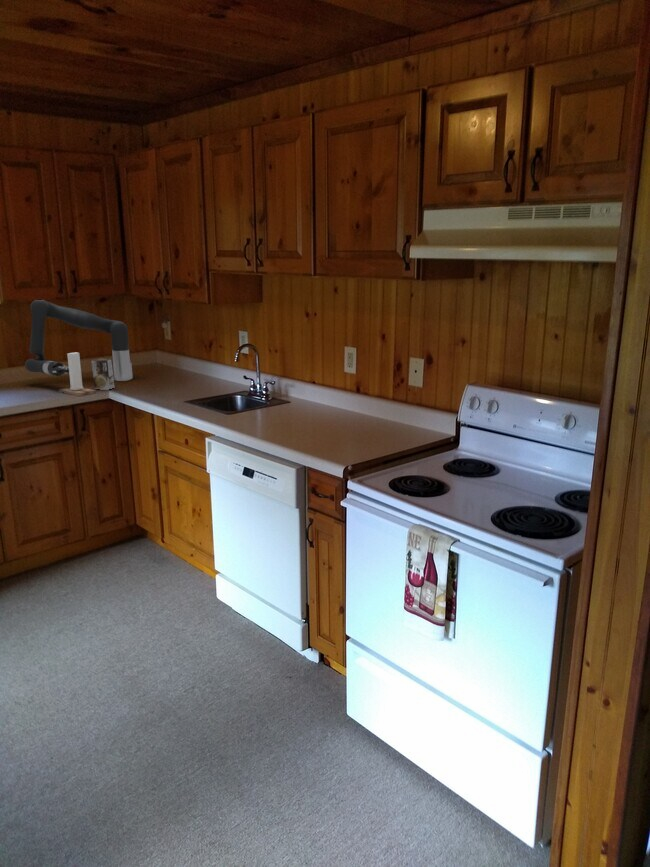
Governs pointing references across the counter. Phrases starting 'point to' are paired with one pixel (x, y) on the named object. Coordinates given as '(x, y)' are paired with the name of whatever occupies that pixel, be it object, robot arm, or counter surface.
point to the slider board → (78, 391)
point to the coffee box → (103, 374)
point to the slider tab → (75, 371)
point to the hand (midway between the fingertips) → (73, 371)
